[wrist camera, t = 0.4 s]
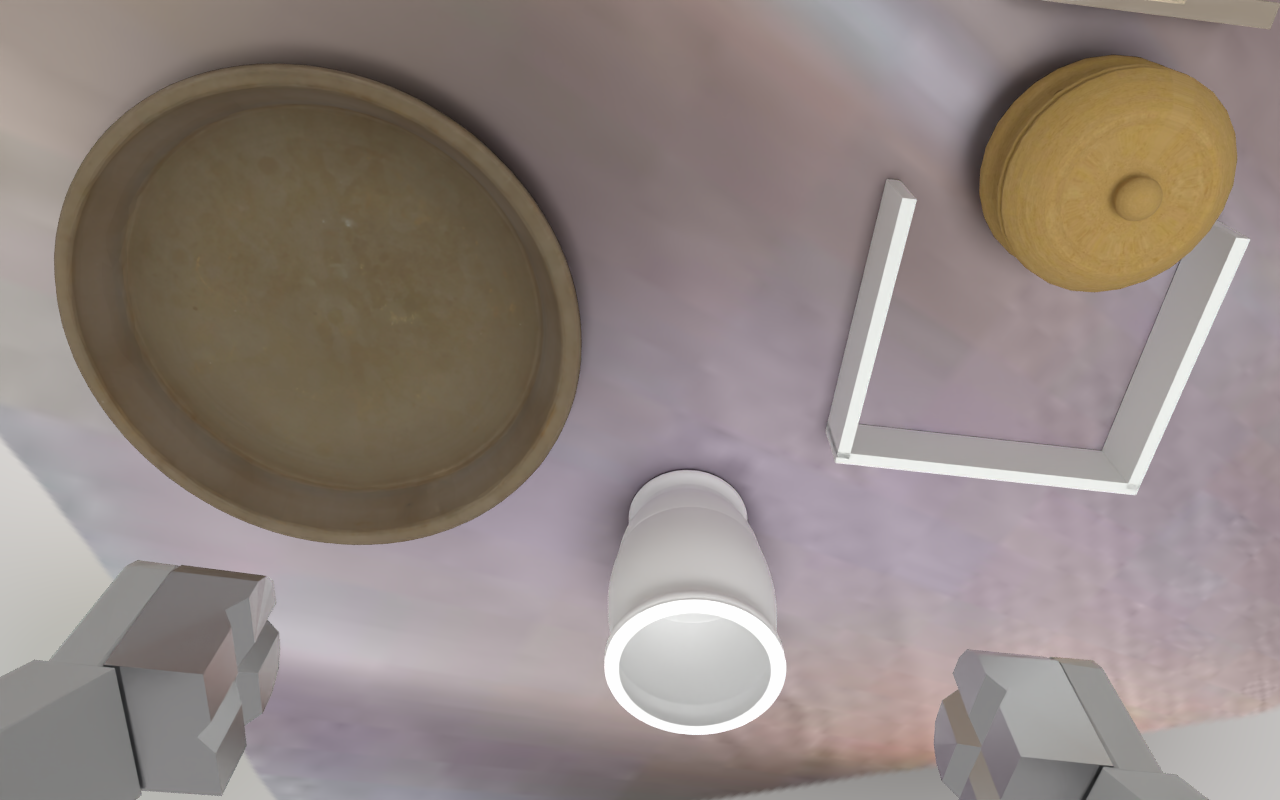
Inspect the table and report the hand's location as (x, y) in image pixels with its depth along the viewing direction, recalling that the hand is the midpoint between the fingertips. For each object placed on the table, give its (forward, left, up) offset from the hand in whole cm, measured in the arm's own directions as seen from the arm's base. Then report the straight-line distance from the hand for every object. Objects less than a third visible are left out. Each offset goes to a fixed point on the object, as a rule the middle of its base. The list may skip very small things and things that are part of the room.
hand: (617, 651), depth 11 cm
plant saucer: (+17, -18, -46) cm, 52 cm away
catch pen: (+13, +24, -45) cm, 53 cm away
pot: (+2, +24, -46) cm, 52 cm away
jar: (+30, +6, -46) cm, 55 cm away
